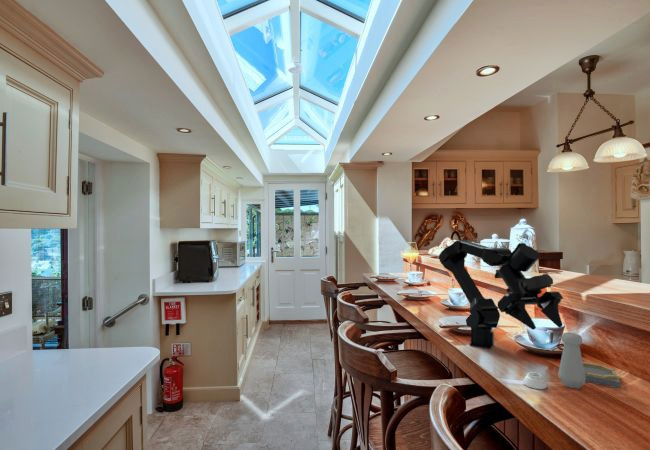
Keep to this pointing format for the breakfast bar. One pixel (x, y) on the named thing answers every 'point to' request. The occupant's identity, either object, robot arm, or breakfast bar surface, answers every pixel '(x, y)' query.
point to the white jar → (534, 381)
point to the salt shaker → (572, 362)
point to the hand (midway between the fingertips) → (547, 327)
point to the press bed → (601, 375)
